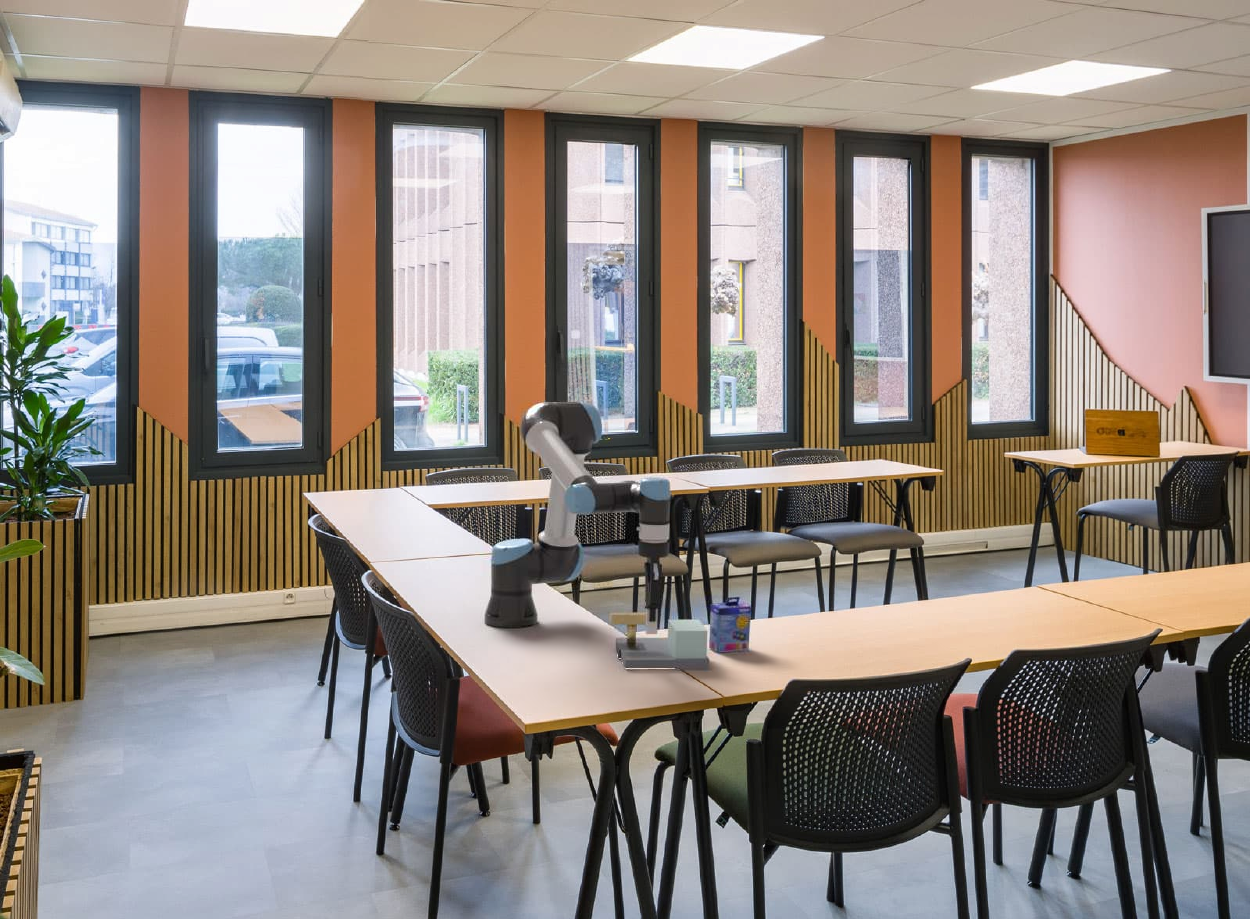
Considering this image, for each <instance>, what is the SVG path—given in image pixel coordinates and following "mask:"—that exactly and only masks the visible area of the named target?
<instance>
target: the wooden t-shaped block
mask: <svg viewBox="0 0 1250 919" xmlns="http://www.w3.org/2000/svg"><path fill="white" fill-rule="evenodd" d="M609 624H610V625H611V626H618V625H619V626H623V625H624V626H626V638H627V643H626V645H628V646H635V645H636V638H637V626H643V625H644V626H646V612H609Z"/></svg>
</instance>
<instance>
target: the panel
mask: <svg viewBox="0 0 1250 919" xmlns="http://www.w3.org/2000/svg"><path fill="white" fill-rule="evenodd" d="M626 643H627V637H615V653H616V652H617V654H618V657H617V658H621V660H622V661H621V660H620V661H621V663H622V662H623V664H622V666H623V665H624V666H623V668H624V667H625V668H675V669H678V671H679V670H680V671H681V670H685V671H686V670H710V659H709V657H708V656H707V658H693V659H675V658H674V656H673V655H672V653H671V651H670V650H669V648H668V637H636V645H635V646H628V645H626ZM617 654H616V655H617Z"/></svg>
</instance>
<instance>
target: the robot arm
mask: <svg viewBox="0 0 1250 919" xmlns="http://www.w3.org/2000/svg"><path fill="white" fill-rule="evenodd" d="M519 428H520V436H521V438H522V441H523V442H524V444H525V445H526V447H527V448H528V450H530V451H531V452H534V453H536V454H537V455H538V457H539V458H540V459H541V461H543V463H544V464H545V465H546V467H547V469H548V470H550V472H551V478H550V480H551V481H550V487H549V494H548V502H547V509H546V516H545V526H544V530H543V531H541V532H539V534H538V538H537V539H538V540H537V543H534V542H533V541H532V539H529V538H511V539H506V540H503V541H500V542H497V543H496V544H494V545H493V547H492V549H491V558H490V563H491V564H490V565H491V567H490V568H491V572H490V573H491V574H490V575H491V576H490V578H491V581H490V582H491V583H490V587H491V588H490V590H491V591H490V597H489V600H488V603H487V606H486V609H485V612H484V623H485V624H486V625H488V626H493V627H498V628H522V627H521V626H526V627H528V626H527V625H531V626H533V625H532V624H534V623H536V622H537V623H538V616H539V615H538V612H537V608H536V605H535V601H534V599H533V598H534V597H533V591H532V590H533V585H538V584H549V583H559V584H560V583H565V582H568V581H574V580H575V579H577V578H578V577H579V575H580V574H581V572H582V570H583V566H584V563H585V562H584V560H585V555H584V548H583V545H582V544H581V543H580V542H579V538H578V537H577V535H576V534H575V531H576V530H575V529H576V521H577V516H578V515H583V516H584V515H585V516H586V515H596V514H614V513H629V512H630V513H637V514H639V518H638V519H639V520H638V524H639V526H637V527H636V531H638V538H639V541H638V551H637V552H638V556H640V557H642V558H646V562H645V561H644V563H643V564H644V565H643V568H644V579H645V580H644V584H645V586H644V589H645V590H644V592H645V593H644V596H645V597H644V598H645V599H644V602H645V605H644V609H645V613H646V625H645V634H646V635H657V634H658V617H659V616H658V610H659V609H660V598H661V596H660V595H661V583H662V582H661V581H662V575H663V573H662V571H663V565H662V563H661V562H660V561H661V560H660V559H661V558H667V557H668V556H669V552H670V551H669V550H670V547H669V545H670V542H669V541H668V540H669V539H670V526H671V525H670V515H671V514H670V512H671V497H672V495H671V482H670V481H669V480H668V479H667V478H664V477H663V478H662V477H643V478H641V480H640V482H638V481H635V480H622V481H619V482H606V483H605V482H601V483H599V482H597V481H596V479H594V477H593V476H592V475H591V474H590V472H589V471H588V470H587V469H586V468H585V457H586V456H588V455H590V454H591V452H592V444H593V445H595V444H597V443H598V442H600V440H601V438H602V435H603V423H602V418H601V415H600V412H599V411H598V409H597V408H596V406H595V405H594V404H593V403H590V402H581V401H562V402H561V401H559V402H557V401H554V402H553V401H551V402H550V401H544V402H543V401H542V402H539V403H536V404H534V405H533V406H531V407H530V408H528V410H527V411H526V412H525V413H524V415H523V417H522V419H521V420H520V427H519ZM537 623H536V624H537ZM534 625H535V624H534Z"/></svg>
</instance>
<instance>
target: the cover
mask: <svg viewBox="0 0 1250 919" xmlns="http://www.w3.org/2000/svg"><path fill="white" fill-rule="evenodd" d="M667 621H668V622H667V638H668V648H669V650H670V651H671V653H672V655H673V656H674V658H675V659H693V658H707V657H708V656H707V654H708V633H709V632H708V629H707V628H706V627H705V625H704V624H703V623H702V622H701V620H700V619H668V620H667Z"/></svg>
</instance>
